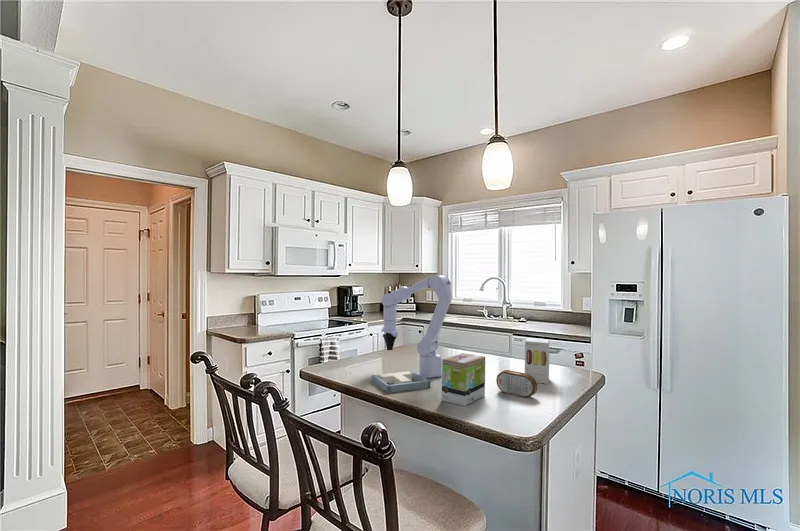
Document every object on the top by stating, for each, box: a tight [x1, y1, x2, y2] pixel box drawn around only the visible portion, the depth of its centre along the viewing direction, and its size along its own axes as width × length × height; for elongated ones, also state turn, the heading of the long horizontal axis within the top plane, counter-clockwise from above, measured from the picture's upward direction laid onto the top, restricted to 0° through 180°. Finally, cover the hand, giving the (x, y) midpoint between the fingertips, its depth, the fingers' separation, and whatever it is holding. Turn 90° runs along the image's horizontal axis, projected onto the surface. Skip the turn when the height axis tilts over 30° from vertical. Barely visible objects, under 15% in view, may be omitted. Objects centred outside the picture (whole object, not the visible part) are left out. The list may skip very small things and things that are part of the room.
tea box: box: [441, 352, 486, 407], centre depth 143 cm, size 15×10×15 cm, turn 143°
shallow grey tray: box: [371, 370, 431, 394], centre depth 160 cm, size 18×17×2 cm
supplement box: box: [524, 337, 550, 385], centre depth 166 cm, size 10×9×17 cm
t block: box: [378, 370, 413, 384], centre depth 160 cm, size 13×13×3 cm
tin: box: [496, 369, 538, 398], centre depth 147 cm, size 15×3×8 cm, turn 50°
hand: (389, 349), depth 181 cm, fingers closed
